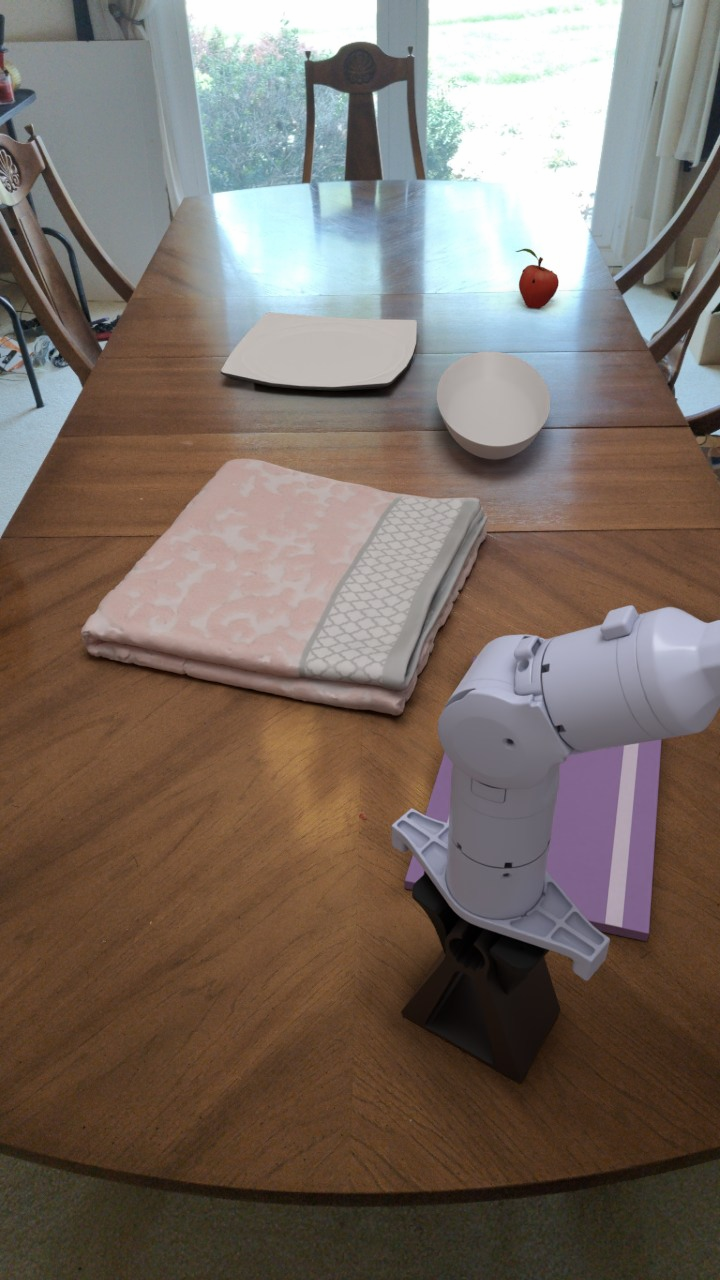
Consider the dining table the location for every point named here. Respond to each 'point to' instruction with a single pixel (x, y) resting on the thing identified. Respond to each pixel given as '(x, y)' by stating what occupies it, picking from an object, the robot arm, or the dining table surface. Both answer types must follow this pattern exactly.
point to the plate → (323, 352)
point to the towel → (295, 587)
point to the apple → (537, 284)
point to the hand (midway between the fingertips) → (485, 969)
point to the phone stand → (484, 1003)
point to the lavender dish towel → (594, 834)
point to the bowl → (493, 403)
